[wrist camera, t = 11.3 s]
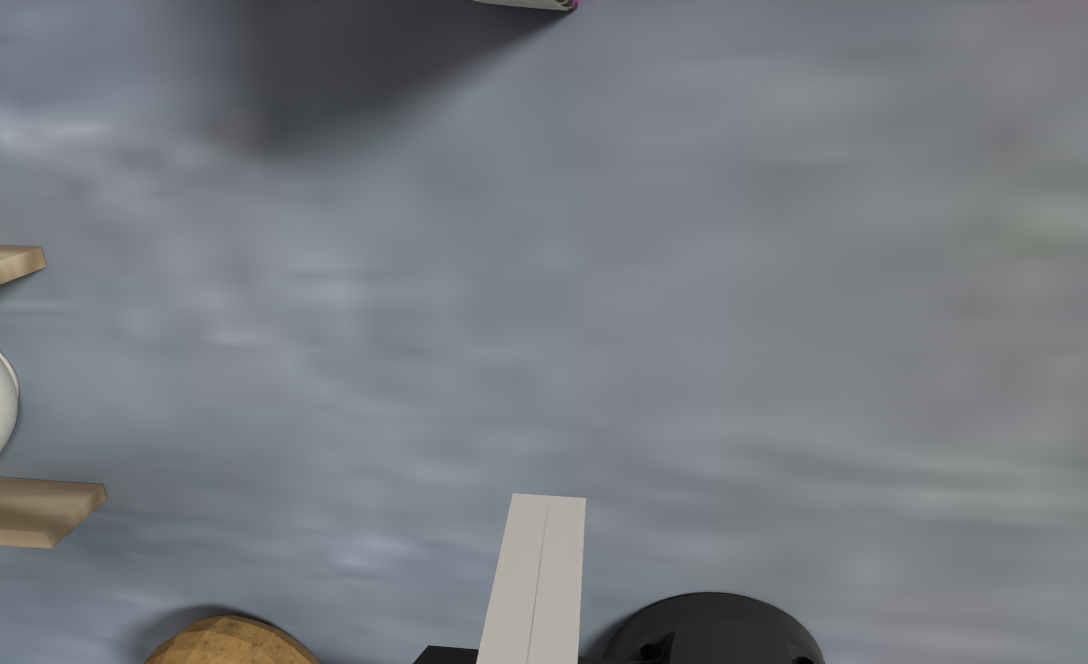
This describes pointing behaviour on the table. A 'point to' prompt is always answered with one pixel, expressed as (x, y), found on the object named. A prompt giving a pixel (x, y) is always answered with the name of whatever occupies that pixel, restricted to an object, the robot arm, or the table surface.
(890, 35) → the table surface
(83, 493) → the bay
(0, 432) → the lidded jar
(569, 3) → the candy bar box
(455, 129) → the table surface
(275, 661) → the potato
